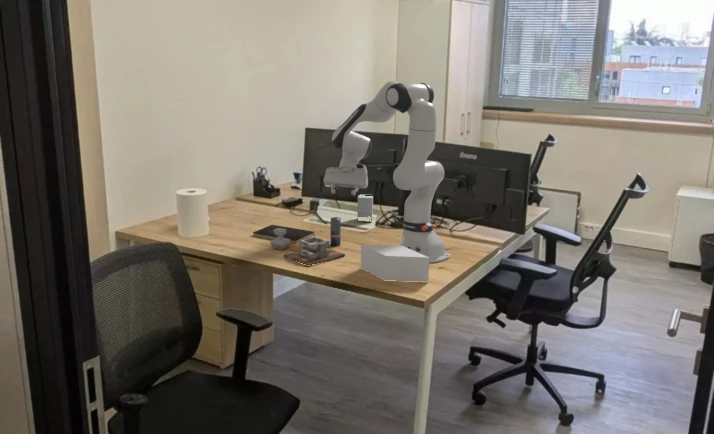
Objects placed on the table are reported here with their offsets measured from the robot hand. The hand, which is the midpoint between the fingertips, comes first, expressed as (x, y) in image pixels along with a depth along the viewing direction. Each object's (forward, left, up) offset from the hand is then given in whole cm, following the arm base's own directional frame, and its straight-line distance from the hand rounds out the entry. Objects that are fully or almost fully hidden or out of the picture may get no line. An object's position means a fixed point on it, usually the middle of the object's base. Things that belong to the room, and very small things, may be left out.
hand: (342, 193), depth 297 cm
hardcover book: (+19, +19, -21) cm, 34 cm away
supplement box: (+13, -28, -20) cm, 37 cm away
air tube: (-7, +11, -20) cm, 24 cm away
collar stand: (-13, +29, -20) cm, 37 cm away
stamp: (+5, +32, -20) cm, 38 cm away
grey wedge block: (-50, +21, -21) cm, 58 cm away
